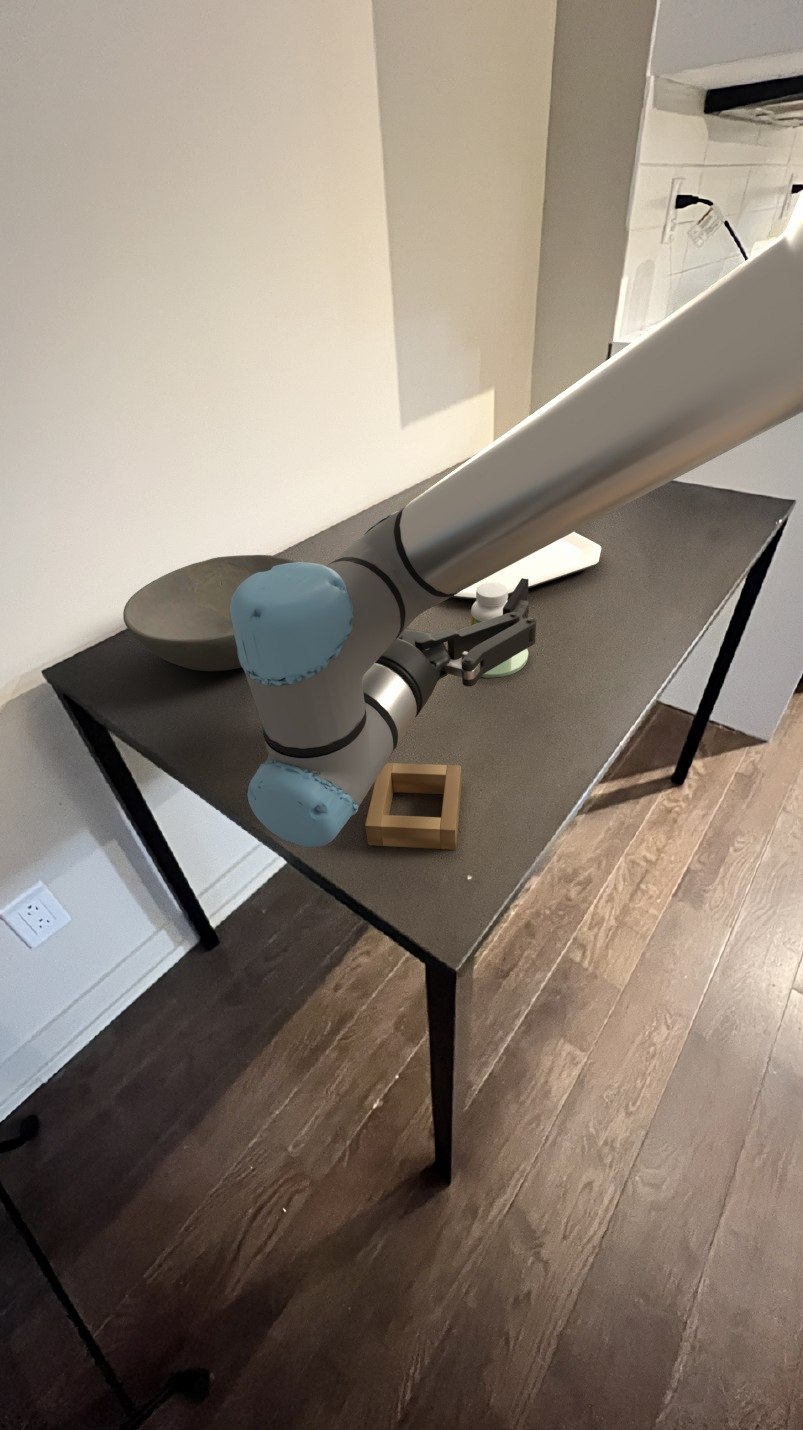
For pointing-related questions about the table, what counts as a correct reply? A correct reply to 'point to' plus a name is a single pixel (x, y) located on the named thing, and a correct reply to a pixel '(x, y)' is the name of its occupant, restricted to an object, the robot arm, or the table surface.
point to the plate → (544, 565)
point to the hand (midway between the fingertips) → (464, 582)
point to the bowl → (194, 611)
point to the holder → (413, 828)
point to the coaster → (509, 666)
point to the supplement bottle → (489, 602)
